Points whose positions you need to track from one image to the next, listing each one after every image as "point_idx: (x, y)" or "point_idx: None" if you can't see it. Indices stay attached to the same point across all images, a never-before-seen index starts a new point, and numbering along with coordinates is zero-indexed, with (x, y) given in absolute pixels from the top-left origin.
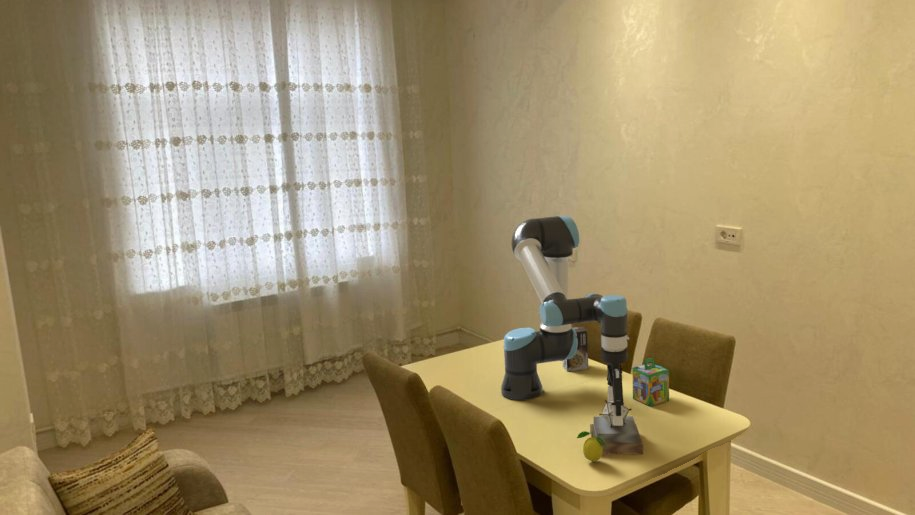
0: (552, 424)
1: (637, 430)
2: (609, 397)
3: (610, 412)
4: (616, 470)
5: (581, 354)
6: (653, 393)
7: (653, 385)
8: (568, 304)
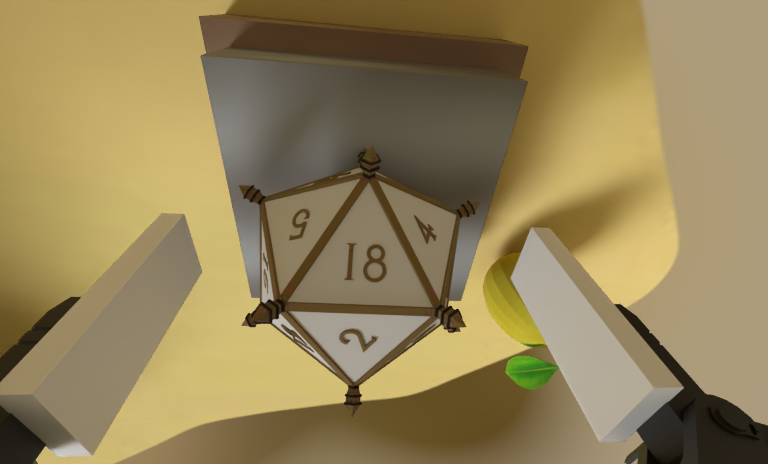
0: (204, 345)
1: (476, 80)
2: (161, 325)
3: (440, 323)
4: (598, 196)
5: None
6: None
7: None
8: None
